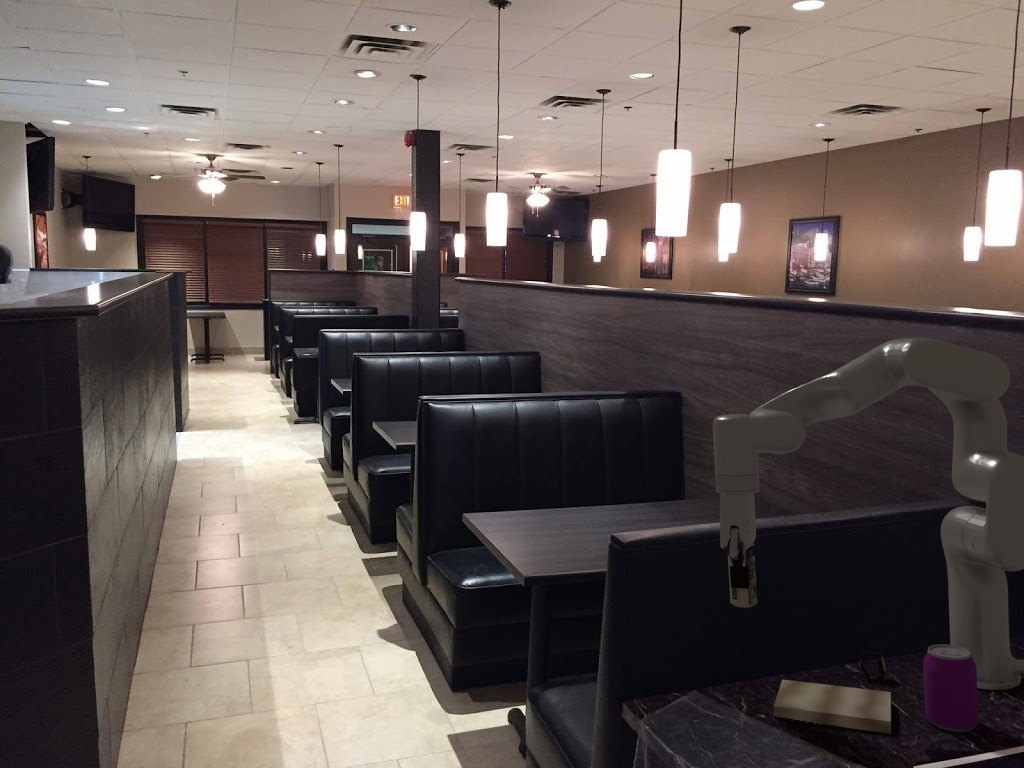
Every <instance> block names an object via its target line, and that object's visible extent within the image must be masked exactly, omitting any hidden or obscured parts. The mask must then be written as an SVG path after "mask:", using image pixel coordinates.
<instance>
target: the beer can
mask: <svg viewBox="0 0 1024 768" xmlns="http://www.w3.org/2000/svg"><path fill="white" fill-rule="evenodd" d="M729 542H730V539H729ZM726 548H727V560H728V561H727V564H728V580H729V582H728V583H729V599H730V604H732V606H734V607H737V608H743V609H745V608H747V609H748V608H752V607H754V606H755V605H757V604H758V594H757V593H758V591H757V574H756V572H757V571H756V558H755V557H756V555H755V543H754V542H752V545H751V546H750V547H749V548H748V549H747V551H746V552H747V566H749V584H750V587H749V588H748V589H741V588H732V587H731V583H730V544H729V545H728V546H727V547H726ZM738 548H743V545H739V547H738ZM739 553H740V554H741V555H742V552H739Z"/></svg>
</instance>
